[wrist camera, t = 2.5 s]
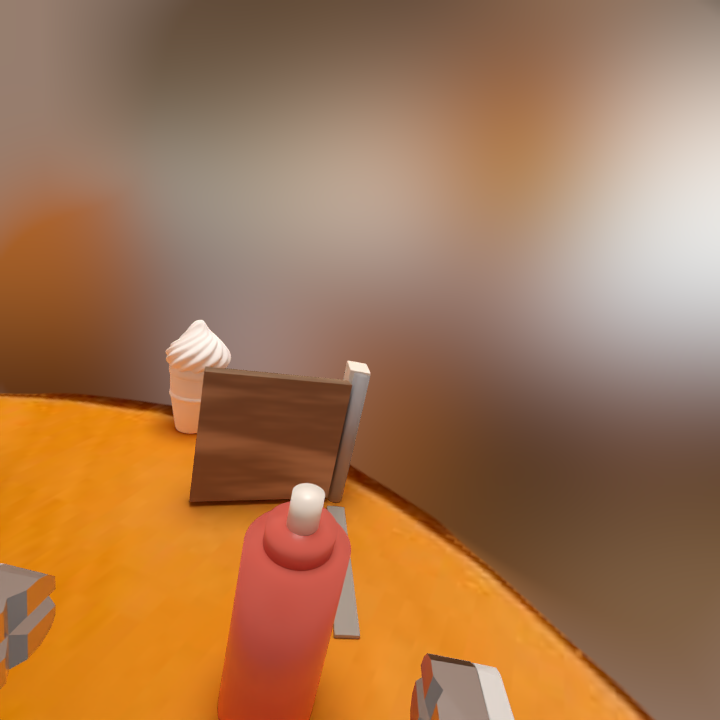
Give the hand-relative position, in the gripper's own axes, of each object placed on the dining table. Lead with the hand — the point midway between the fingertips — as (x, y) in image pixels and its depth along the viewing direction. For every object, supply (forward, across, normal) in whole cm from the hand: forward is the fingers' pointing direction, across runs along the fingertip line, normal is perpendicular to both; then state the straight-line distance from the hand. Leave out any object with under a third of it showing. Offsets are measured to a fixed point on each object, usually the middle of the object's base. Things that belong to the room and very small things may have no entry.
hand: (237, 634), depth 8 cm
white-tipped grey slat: (+27, -3, +19) cm, 33 cm away
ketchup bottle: (+11, 0, +19) cm, 22 cm away
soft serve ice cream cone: (+42, +21, +19) cm, 51 cm away
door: (+31, +6, +19) cm, 36 cm away
